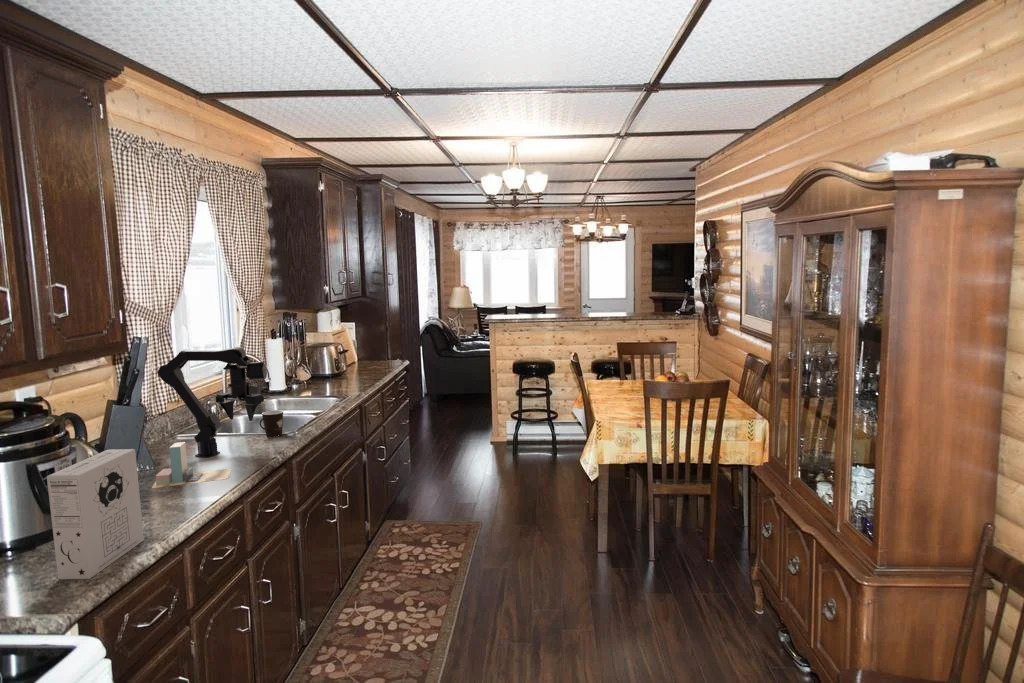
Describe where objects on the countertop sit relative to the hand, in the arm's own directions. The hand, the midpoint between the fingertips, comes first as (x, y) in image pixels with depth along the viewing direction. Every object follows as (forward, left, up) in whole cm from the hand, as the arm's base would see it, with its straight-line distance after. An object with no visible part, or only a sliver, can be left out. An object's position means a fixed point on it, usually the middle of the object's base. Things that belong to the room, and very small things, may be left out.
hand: (241, 420), depth 252 cm
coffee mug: (-7, +24, -13) cm, 28 cm away
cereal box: (+33, -86, -13) cm, 93 cm away
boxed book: (+5, -35, -12) cm, 37 cm away
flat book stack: (+1, -37, -12) cm, 39 cm away
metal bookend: (+8, -33, -12) cm, 36 cm away
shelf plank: (+8, -33, -13) cm, 36 cm away
